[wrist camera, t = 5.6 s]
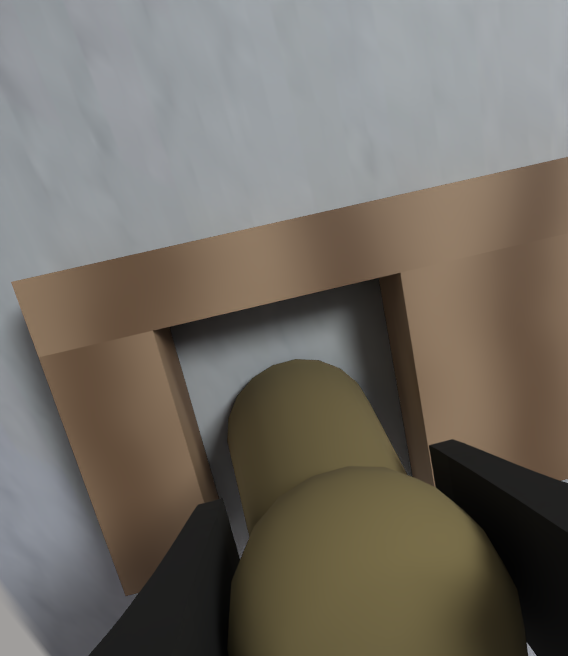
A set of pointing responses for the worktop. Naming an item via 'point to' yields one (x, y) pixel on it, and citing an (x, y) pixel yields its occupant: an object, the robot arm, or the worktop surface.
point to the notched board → (301, 279)
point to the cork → (352, 535)
